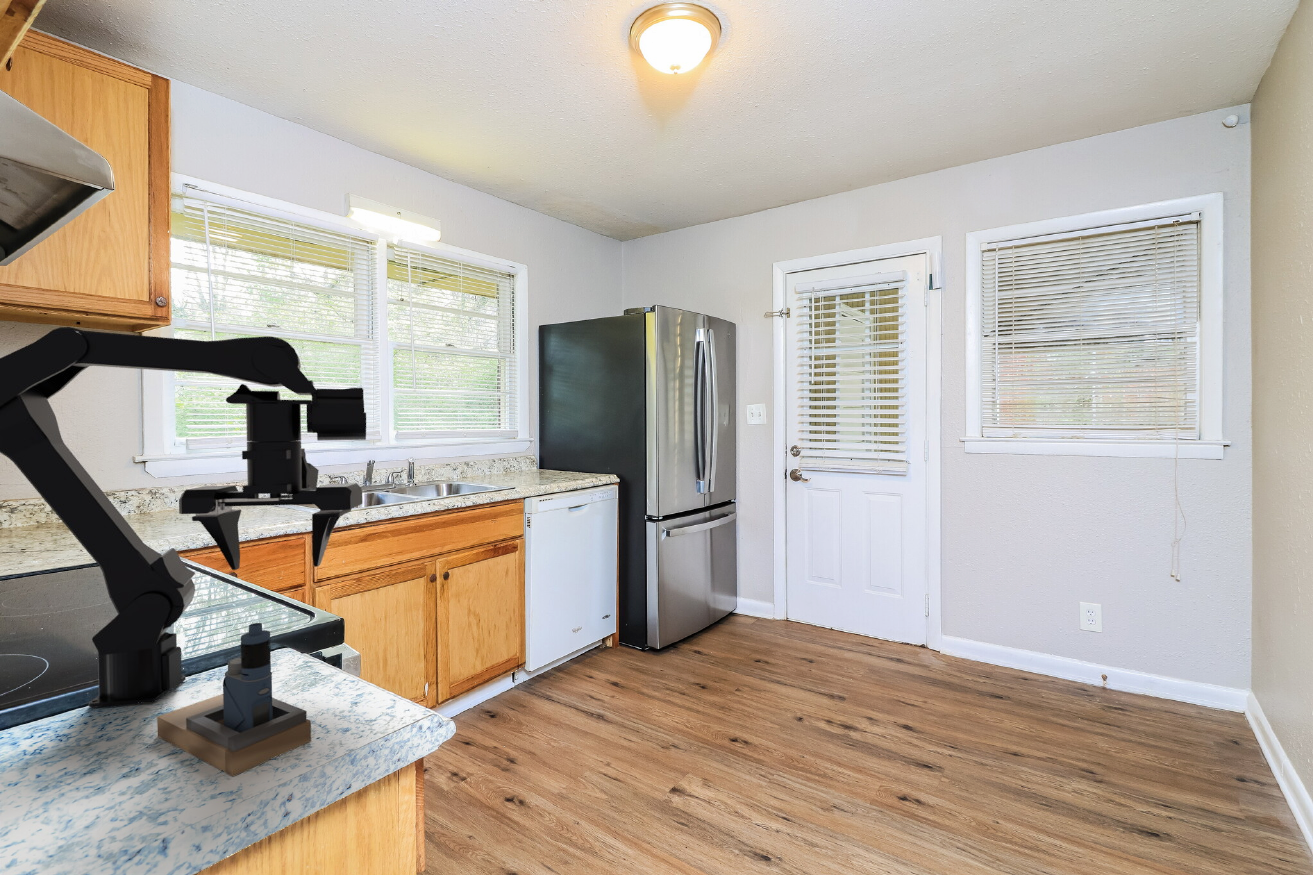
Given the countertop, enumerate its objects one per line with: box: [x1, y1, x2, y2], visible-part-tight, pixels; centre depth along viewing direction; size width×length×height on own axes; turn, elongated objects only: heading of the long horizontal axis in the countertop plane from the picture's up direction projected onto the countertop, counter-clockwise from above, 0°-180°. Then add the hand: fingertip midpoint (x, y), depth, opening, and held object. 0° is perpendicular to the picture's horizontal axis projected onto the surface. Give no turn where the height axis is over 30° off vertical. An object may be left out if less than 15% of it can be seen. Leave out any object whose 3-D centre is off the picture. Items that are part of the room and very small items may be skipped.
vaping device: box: [222, 622, 273, 733], centre depth 59 cm, size 3×5×12 cm, turn 62°
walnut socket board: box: [156, 693, 312, 777], centre depth 61 cm, size 14×7×3 cm, turn 60°
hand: (276, 567), depth 77 cm, fingers open, 9 cm apart
